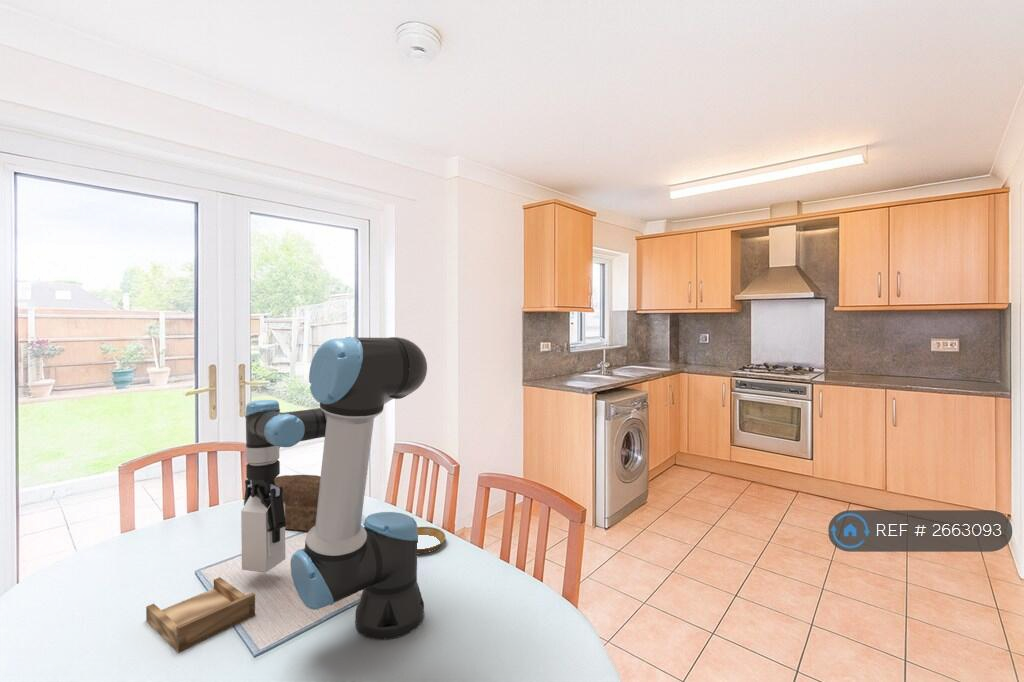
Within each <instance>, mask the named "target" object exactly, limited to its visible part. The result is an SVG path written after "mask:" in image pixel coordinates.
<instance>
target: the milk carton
mask: <svg viewBox="0 0 1024 682" xmlns="http://www.w3.org/2000/svg"><path fill="white" fill-rule="evenodd" d="M251 491H252V490H251ZM268 499H270V498H268ZM266 500H267V499H266ZM270 505H271V504H270ZM283 506H284V513H285V502H283ZM269 507H270V506H269ZM268 509H269V508H268ZM268 509H267V508H266V507H265V506H264V504H262V503H261V499H260V498H258V497H257V496H256V495H255V496H254V497H253V498H252V497H251V496H250V497H249V499H248V500H247V502H246V504H245V505H244V504H243V507H242V508H241V510H240V513H241V514H240V515H241V517H240V519H241V520H240V521H241V523H240V525H241V526H240V527H241V531H240V532H241V570H243V571H248V572H249V571H250V572H257V573H258V572H259V573H268V572H269V571H271V570H272V569H274V568H275V567H276V566H278V565H279V564H281V563H282V562H283V561H285V560H286V529H285V527H283V528H280V553H278V554H276V555H273V556H271V557H269V556H268V531H267V530H268V529H270V527H269V523H268V511H267V510H268Z"/></svg>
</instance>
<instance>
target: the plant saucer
mask: <svg viewBox="0 0 1024 682" xmlns="http://www.w3.org/2000/svg"><path fill="white" fill-rule="evenodd" d="M417 532H418V535H429V536H434V537H436V538H437V539H438V540H439V541H440V544H438V545H436V546H433V547H430V548H425V549H417V553H423V554H426V553H425V552H428V553H430V552H429V551H431V552H433V551H435V550H436V549H438V548H439V547H440V546H441V545H442V544H443V543H444V542H445V539H446V533H445V532H444V531H443V530H441V529H439V528H437V527H432V526H417ZM434 549H435V550H434ZM432 550H433V551H432Z"/></svg>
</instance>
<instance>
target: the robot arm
mask: <svg viewBox="0 0 1024 682" xmlns="http://www.w3.org/2000/svg"><path fill="white" fill-rule="evenodd" d="M427 372H428V363H427V358H426V356H425V353H424V352H423V351H422V349H421V348H420V347H419V346H418V345H417V344H416V343H415V342H413V341H411V340H409V339H407V338H403V337H397V336H396V337H395V336H394V337H393V336H392V337H355V336H354V337H351V336H348V337H344V338H330V339H329V340H326V341H324V342H323V343H322V344H321V345H319V347H318V348H317V349H316V351H315V353H314V354H313V357H312V360H311V362H310V366H309V374H308V383H309V384H310V386H309V389H310V393H311V394H312V395H311V396H312V397H313V399H314V400H315V401H316V402H318V403H319V407H317V408H310V409H304V410H303V409H301V410H294V411H287V412H286V411H285V412H281V409H280V403H279V401H277V400H275V399H259V400H253V401H249V402H248V403H247V404H246V407H245V415H244V418H245V443H246V444H245V462H246V463H247V464H246V465H245V467H246V468H245V469H246V471H245V472H246V476H245V477H246V479H245V481H244V483H245V490H244V500H243V506H244V505H245V504H246V502H247V500H248V499H249V497H250V496H251V497H252V498H253V497H254V496H255V495H256V496H257V497H258V498H260V499H261V503H262V504H264V506H265V507H266V508H267V509H268V508H269V509H268V510H267V511H268V523H269V527H270V529H268V530H267V531H268V556H269V557H271V556H273V555H276V554H278V553H280V528H283V527H285V526H286V521H285V513H284V506H283V498H282V492H283V488H282V487H276V485H275V480H274V479H275V477H278V476H280V475H281V474H280V473H281V472H280V471H281V470H280V469H281V465H280V461H279V459H280V448H292V447H294V446H296V445H297V444H299V443H300V442H305V441H310V440H311V441H312V440H315V439H320V438H324V443H323V453H322V462H321V471H320V476H321V478H320V487H319V496H318V506H317V515H316V524H315V526H314V527H313V528H311V529H310V530H309V531H307V533H306V536H305V542H304V548H303V549H297V551H294V552H293V554H292V555H291V559H290V574H291V578H292V582H293V586H294V588H295V591H296V592H297V595H298V597H299V599H300V600H301V602H302V604H304V605H305V606H306V607H307V608H309V610H312V611H313V610H314V611H315V610H320V609H323V608H326V607H328V606H332V605H335V603H337V602H339V601H342V600H344V599H346V598H348V597H350V596H353V595H355V594H357V593H359V592H361V591H362V592H361V595H360V599H359V603H358V605H357V607H356V608H355V609H356V610H355V614H354V626H355V628H356V630H357V632H358V633H359V634H360V635H362V636H364V637H366V638H369V639H372V640H391V639H396V638H400V637H403V636H406V635H408V634H410V633H412V632H413V631H414V630H416V629H417V628H418V627H419V626H420V625H421V623H422V622H423V621H424V616H425V603H424V600H423V597H422V592H421V589H420V586H419V583H418V554H417V543H418V532H417V527H418V524H417V521H416V520H415V518H413V517H411V516H410V515H408V514H404V513H401V512H396V511H394V512H393V511H381V512H375V513H371V514H369V515H368V516H367V517H365V519H364V522H363V526H362V518H363V510H364V503H365V502H364V501H365V495H366V487H367V486H366V485H367V478H368V469H369V463H370V462H369V461H370V454H371V453H370V452H371V447H372V446H371V445H372V438H373V437H372V436H373V429H374V421H375V418H376V417H378V416H379V415H380V414H382V413H383V412H384V408H385V407H384V406H385V404H387V403H390V401H392V400H393V399H394V400H400V399H403V398H405V397H407V396H409V395H411V394H413V392H415V391H416V390H418V389H419V388H420V387H421V386H422V384H423V383H424V381H426V377H427ZM251 490H252V491H251ZM268 498H270V499H268ZM266 499H267V500H266ZM270 504H271V505H270ZM269 506H270V507H269Z"/></svg>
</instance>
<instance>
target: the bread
mask: <svg viewBox="0 0 1024 682" xmlns="http://www.w3.org/2000/svg"><path fill="white" fill-rule="evenodd" d="M320 478H321V475H315V474H293V475H288V474H287V475H286V474H285V475H278V476H277V477H275V479H274V480H275V485H276V487H282V488H283V492H282V498H283V502H285V521H286V526H285V530H294V531H301V532H302V531H303V532H308V531H309V530H310V529H311V528H313V527H314V526H315V524H316V515H317V506H318V496H319V487H320Z"/></svg>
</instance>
